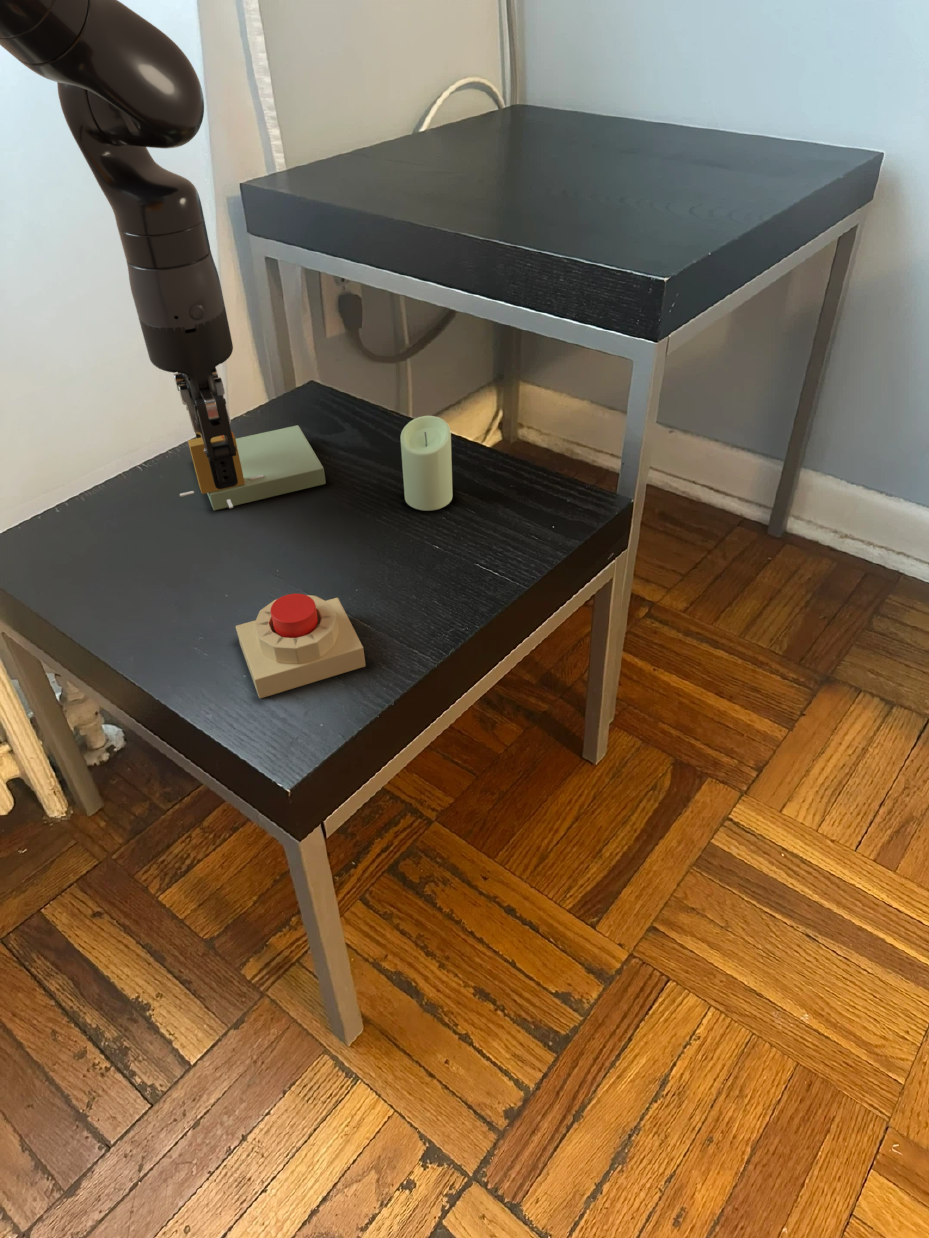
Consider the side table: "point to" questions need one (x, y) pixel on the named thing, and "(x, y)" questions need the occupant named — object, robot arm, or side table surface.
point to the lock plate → (271, 468)
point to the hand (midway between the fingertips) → (218, 465)
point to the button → (294, 615)
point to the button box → (300, 649)
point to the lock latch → (204, 468)
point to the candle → (427, 463)
